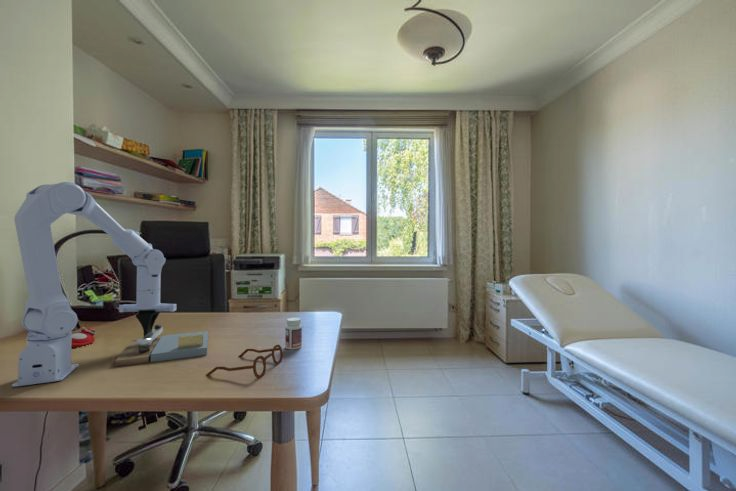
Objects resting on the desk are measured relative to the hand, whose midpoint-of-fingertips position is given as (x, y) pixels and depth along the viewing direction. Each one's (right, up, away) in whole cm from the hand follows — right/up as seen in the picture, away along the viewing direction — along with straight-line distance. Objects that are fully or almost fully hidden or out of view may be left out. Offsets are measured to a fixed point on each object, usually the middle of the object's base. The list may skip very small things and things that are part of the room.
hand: (148, 336), depth 91 cm
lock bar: (+3, 0, -2) cm, 4 cm away
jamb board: (+1, -3, -5) cm, 6 cm away
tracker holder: (-23, -4, +3) cm, 24 cm away
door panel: (+10, -3, 0) cm, 11 cm away
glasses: (+34, -4, -14) cm, 37 cm away
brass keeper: (+15, -1, -3) cm, 15 cm away
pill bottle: (+42, -4, +2) cm, 42 cm away
